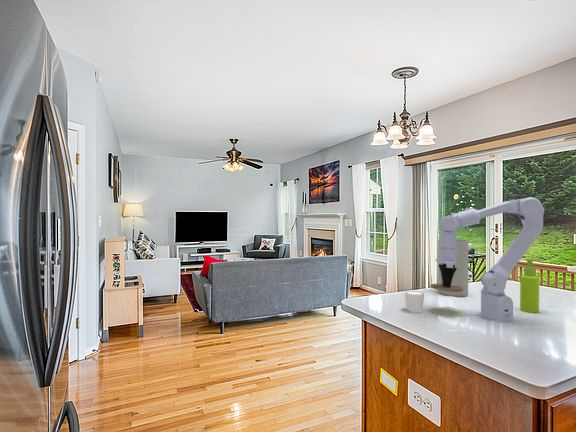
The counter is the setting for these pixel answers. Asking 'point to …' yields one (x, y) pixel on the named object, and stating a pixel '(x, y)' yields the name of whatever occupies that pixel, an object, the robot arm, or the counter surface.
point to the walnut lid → (446, 287)
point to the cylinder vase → (458, 270)
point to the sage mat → (448, 312)
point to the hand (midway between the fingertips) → (446, 284)
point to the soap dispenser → (529, 288)
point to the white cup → (414, 301)
